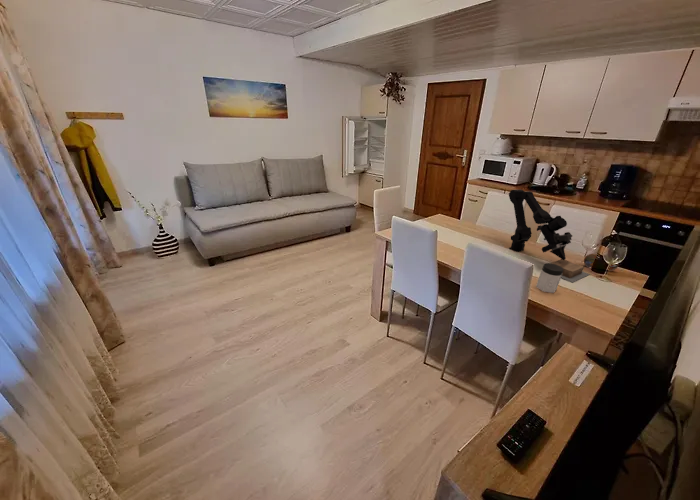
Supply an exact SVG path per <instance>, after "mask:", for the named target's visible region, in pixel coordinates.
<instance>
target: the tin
mask: <svg viewBox="0 0 700 500" xmlns="http://www.w3.org/2000/svg"><path fill="white" fill-rule="evenodd" d="M597 254H598V253H589V254H587V255H585V257H584V259H583V263H584V265H585V267H587V268H588V267H592V265H593V262H594V260H595V258H596V256H597ZM619 265H620V264H619V262H618V264H617V265H611V266H610V268H609V271H608V272H612V271H615V270H616V269H618V267H619Z"/></svg>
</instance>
